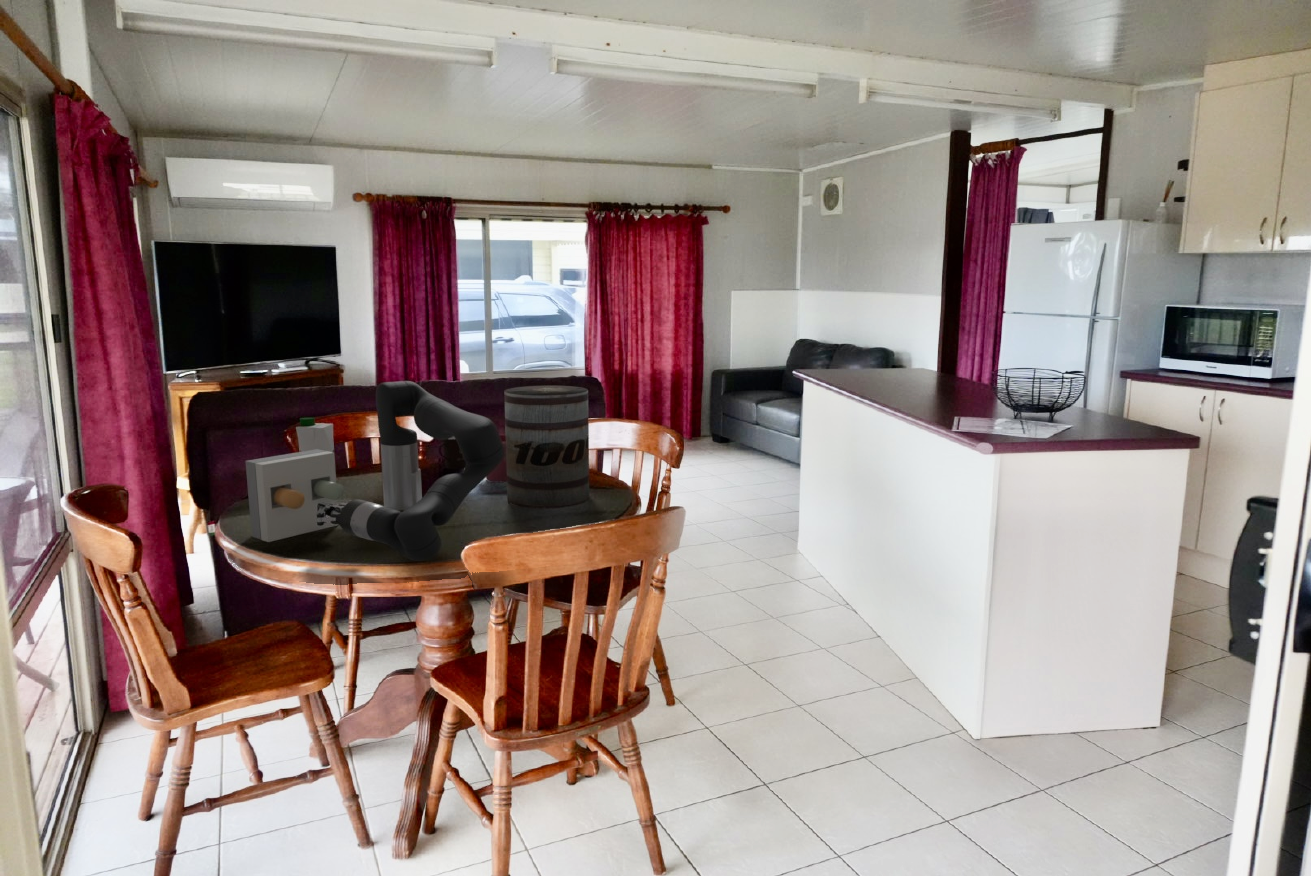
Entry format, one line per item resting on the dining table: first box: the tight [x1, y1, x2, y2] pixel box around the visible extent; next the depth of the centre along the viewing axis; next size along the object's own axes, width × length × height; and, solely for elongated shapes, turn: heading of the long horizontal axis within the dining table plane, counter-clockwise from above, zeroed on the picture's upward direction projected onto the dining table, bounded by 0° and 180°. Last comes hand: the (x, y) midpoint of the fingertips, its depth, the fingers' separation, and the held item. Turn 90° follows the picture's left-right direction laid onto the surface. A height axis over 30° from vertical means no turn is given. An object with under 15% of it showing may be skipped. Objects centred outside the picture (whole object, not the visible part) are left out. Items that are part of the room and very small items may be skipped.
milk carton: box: [295, 416, 335, 454], centre depth 247 cm, size 9×9×20 cm
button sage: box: [314, 480, 345, 501], centre depth 201 cm, size 6×4×4 cm, turn 53°
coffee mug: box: [438, 436, 466, 470], centre depth 273 cm, size 12×9×10 cm
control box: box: [245, 449, 339, 543], centre depth 201 cm, size 7×18×18 cm, turn 143°
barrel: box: [503, 385, 590, 510], centre depth 232 cm, size 22×22×30 cm
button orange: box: [274, 488, 305, 509], centre depth 193 cm, size 6×4×4 cm, turn 53°
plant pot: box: [485, 433, 507, 483], centre depth 257 cm, size 14×14×13 cm
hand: (320, 507), depth 186 cm, fingers closed
